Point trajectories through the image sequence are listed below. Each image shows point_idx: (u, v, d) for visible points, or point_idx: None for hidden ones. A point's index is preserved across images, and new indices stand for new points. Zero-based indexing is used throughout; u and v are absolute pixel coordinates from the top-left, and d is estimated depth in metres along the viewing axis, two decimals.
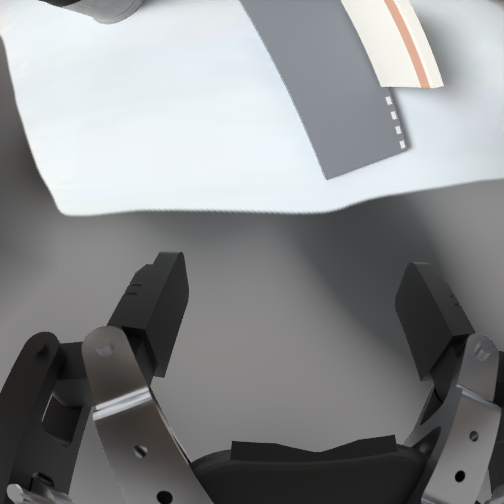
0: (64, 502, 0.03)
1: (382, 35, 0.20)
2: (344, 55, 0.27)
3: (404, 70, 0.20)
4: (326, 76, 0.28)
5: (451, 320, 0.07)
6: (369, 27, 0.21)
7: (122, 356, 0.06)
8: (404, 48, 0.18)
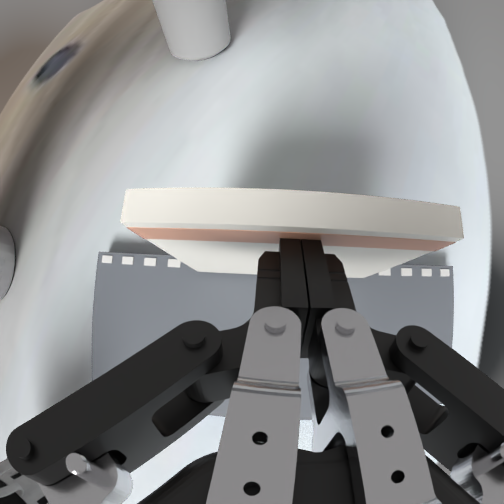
0: (124, 487, 0.04)
1: None
2: None
3: (380, 258, 0.13)
4: None
5: (317, 293, 0.08)
6: None
7: (288, 343, 0.06)
8: (348, 249, 0.11)
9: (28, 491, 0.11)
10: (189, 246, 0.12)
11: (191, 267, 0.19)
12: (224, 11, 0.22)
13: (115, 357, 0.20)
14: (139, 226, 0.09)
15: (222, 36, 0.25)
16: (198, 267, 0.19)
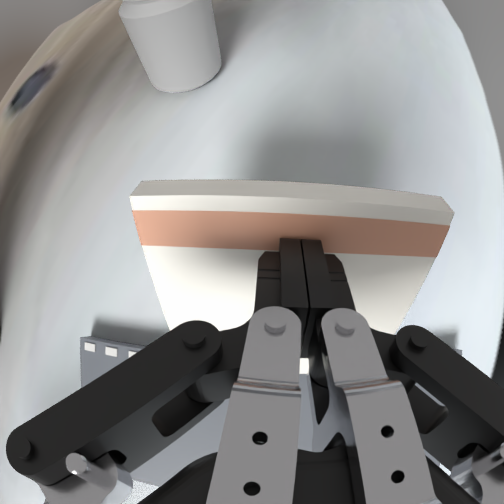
0: (124, 487, 0.04)
1: None
2: None
3: (385, 292, 0.12)
4: None
5: (317, 293, 0.08)
6: None
7: (288, 343, 0.06)
8: (349, 263, 0.11)
9: None
10: (184, 271, 0.12)
11: None
12: (212, 32, 0.19)
13: None
14: (145, 207, 0.10)
15: (211, 63, 0.22)
16: None
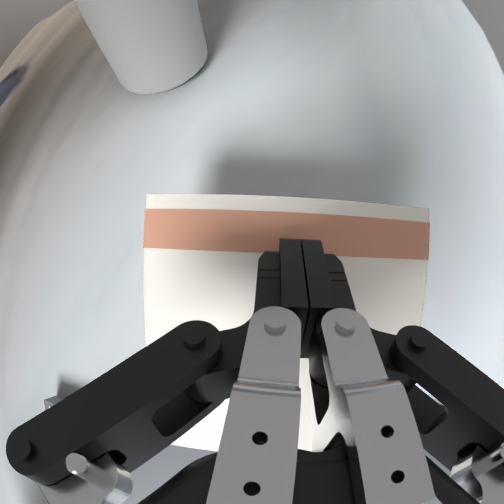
0: (124, 487, 0.04)
1: None
2: None
3: (388, 309, 0.11)
4: None
5: (317, 293, 0.08)
6: None
7: (289, 343, 0.06)
8: (344, 269, 0.11)
9: None
10: (179, 281, 0.11)
11: None
12: (192, 14, 0.14)
13: None
14: (157, 206, 0.11)
15: (192, 55, 0.16)
16: None
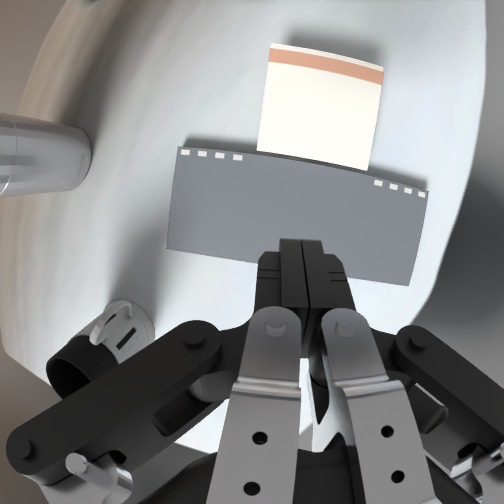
0: (124, 487, 0.04)
1: (324, 104, 0.26)
2: (315, 200, 0.31)
3: (363, 99, 0.25)
4: (325, 231, 0.32)
5: (318, 293, 0.08)
6: (308, 122, 0.27)
7: (289, 343, 0.06)
8: (346, 79, 0.25)
9: (109, 339, 0.29)
10: (282, 74, 0.25)
11: (259, 132, 0.28)
12: None
13: (188, 221, 0.33)
14: (275, 47, 0.24)
15: None
16: (264, 131, 0.28)
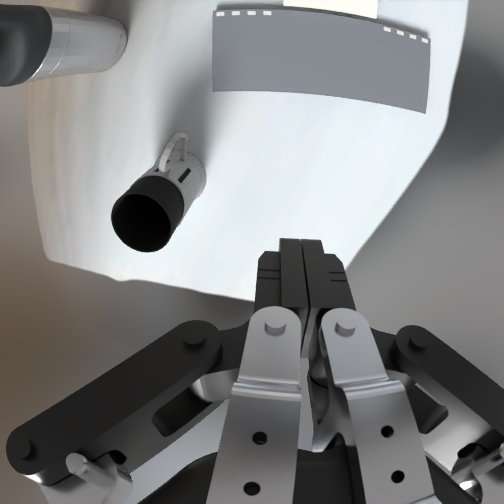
0: (124, 487, 0.04)
1: None
2: (337, 41, 0.29)
3: None
4: (349, 64, 0.30)
5: (318, 293, 0.08)
6: None
7: (289, 343, 0.06)
8: None
9: (170, 175, 0.34)
10: None
11: None
12: None
13: (230, 66, 0.32)
14: None
15: None
16: None
